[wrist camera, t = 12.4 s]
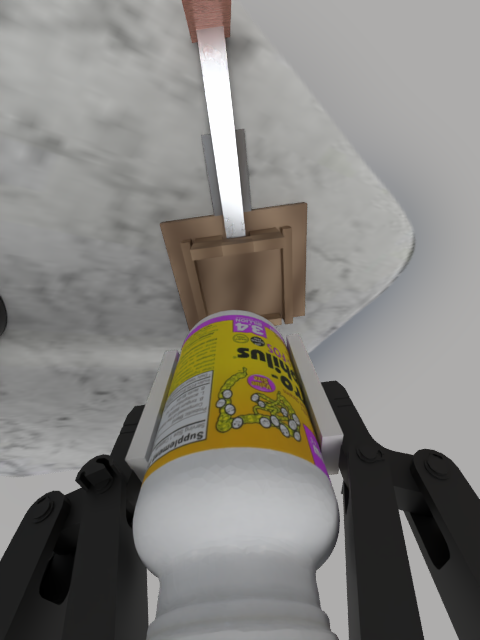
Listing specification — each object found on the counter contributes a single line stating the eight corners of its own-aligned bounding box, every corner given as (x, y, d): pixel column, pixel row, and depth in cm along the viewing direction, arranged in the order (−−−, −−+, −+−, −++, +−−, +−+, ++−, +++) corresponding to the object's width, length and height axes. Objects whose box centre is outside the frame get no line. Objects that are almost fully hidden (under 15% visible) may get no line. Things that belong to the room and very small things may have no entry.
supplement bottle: (303, 353, 16) (458, 726, 5) (229, 398, 18) (228, 737, 7) (240, 282, 13) (290, 760, 2) (161, 345, 15) (-9, 763, 4)
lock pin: (222, 235, 27) (221, 253, 21) (188, 20, 18) (171, -56, 12) (249, 232, 27) (255, 248, 21) (227, 14, 18) (228, -66, 12)
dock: (190, 326, 34) (184, 353, 29) (141, 145, 23) (116, 136, 18) (302, 311, 34) (316, 336, 29) (305, 121, 23) (329, 105, 18)
